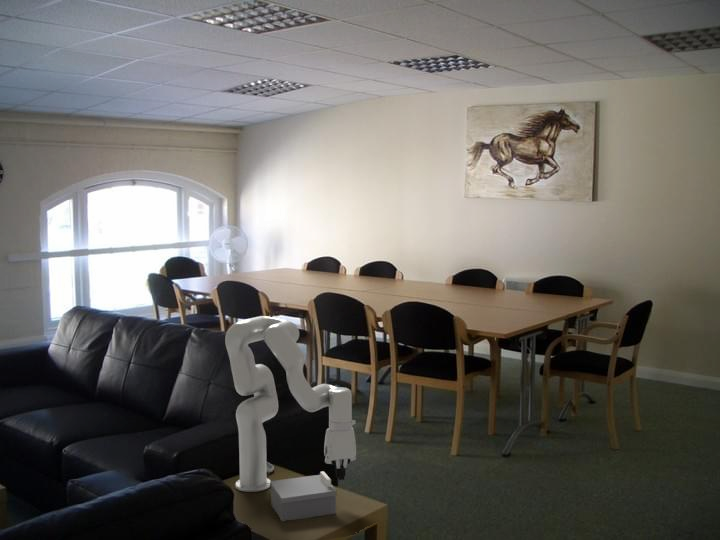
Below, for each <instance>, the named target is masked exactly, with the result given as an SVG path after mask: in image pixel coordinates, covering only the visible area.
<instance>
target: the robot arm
mask: <svg viewBox="0 0 720 540" xmlns="http://www.w3.org/2000/svg"><path fill="white" fill-rule="evenodd" d="M299 337H300V331H299V327H298V326H297V325H296V324H295V323H294V322H292V321H289V320H286V319H282V318H276V317H271V316H265V315H259V316H255V317H251V318H250V317H249V318H246V319H242V320H239V321H236V322H235V323H233V324H232V325H230V326H229V328H228V329H227V331H226V333H225V338H224V339H225V341H224V342H225V344H224V345H225V348H226V351H227V355H228V358H229V361H230V362H229V363H230V370H231V374H232V378H233V379H232V380H233V383H234V385H233V386H234V388H235V391H236V392H237V393H238V395H240V396H244V397H245V396H250V395H253V396H252V397H249V398H247V399H245V400H243V401H242V402H241V403H240V404H239V405H237V408H236V410H235V419H236V424H237V429H238V430H237V431H238V448H239V449H238V451H239V455H238V456H239V460H238V461H239V462H238V463H239V479H238V480H237V481H235V488H236V489H237V490H238V491H241V492H245V493H256V492H261V491H262V492H263V491H266V490H268V489H269V488H271V486H270V481H271V479H270V478H268V477H267V475H268V474H267V466H266V462H267V436H266V431H265V429H264V425H263V423H264V422H267V421H269V420H271V419H272V418H274V417H275V416H276V415H277V413H278V412H279V400H278V393H277V390H276V383H275V378H274V375H273V373H272V371H271V369H270V368H269V367H268V366H267V365H264V364H263V363H258V364H256V361H255V356H254V353H253V351H252V349H251V347H249V344H251V343H255V342H259V341H263V340H264V342H265V343H266V345H267V347H268V348H269V349H270V351H271V353H272V354H273V355H274V356H275V358H276V359H277V361H278V362H279V364H281V366H282V368H283V369H284V371H285V372H286V374H285V375H286V382H287V385H288V389H289V391H290V393H291V395H292V397H293V398H294V399H295V400H296V402H297V403H298V405H300V407H301V408H302V409H303V410H305V412H306V411H307V412H309V413H315V412H317V411H319V410H322V409H323V408H326V407H328V428H326V430H325V436H324V444H323V445H324V446H323V448H324V449H323V453H324V454H323V456H324V457H325V458H324V462H325V464H328V465H329V464H330V465H333V466H334V467H335V477H336V478H337V479H338V481H343V480H344V481H345V477H346V474H347V473H346V468H347V467H348V466H349V464H350V463H351V462H353V461H355V460H357V456H356V455H357V444H356V434H355V429H354V427H353V425H356V420H355V419H354V420H353V417H352V415H353V413H352V411H353V409H352V408H353V407H352V406H353V404H352V401H353V400H352V399H353V398H352V397H353V395H352V391H351V389H349V388H348V387H343V386H342V387H340V386H339V387H337V386H334V385H332V384H329V383H321V384H318V385H316V386H314V387H312V386H311V385H310V383H309V382H308V381H307V379H306V377H305V375H304V374H305V373H304V365H305V362H306V361H307V356H306V354H305V352H304V351H303V350H302V348H301V347H300V345H299V344H298V343H297V341H298V340H299ZM340 461H341V462H340Z"/></svg>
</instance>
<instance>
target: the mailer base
mask: <svg viewBox="0 0 720 540" xmlns="http://www.w3.org/2000/svg"><path fill="white" fill-rule="evenodd" d="M270 490H271V493H270V496H271V499H270V501H271V502H270V503H271V506H272V508H273V510H274V509H275V510H274V511H275V513H276V512H277V513H276V515H277V514H278V515H279V516H278V515H277V516H278V518H279V517H280V518H279V519H280V521H281V520H282V521H281V522H287V521H286V520H289V521H294V520H300V519H301V520H302V519H307V518H314V517H321V516H327V515H328V516H329V515H333V514H334V515H335V514H336V513H337V512H336V511H337V508H336V507H337V505H336V504H337V503H336V502H337V501H336V500H337V498H336V496H337V495H336V496H329V497H322V498H316V499H309V500H302V501H295V502H288V503H281V499H280V497H279V496H278V494H277V493H276V491H275V490H274V488H273V487H272V485H271V486H270Z"/></svg>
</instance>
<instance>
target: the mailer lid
mask: <svg viewBox="0 0 720 540" xmlns="http://www.w3.org/2000/svg"><path fill="white" fill-rule="evenodd" d="M271 485H272V487H273V488H274V490H275V491H276V493H277V494H278V496H279V497H280V499H281V503H288V502H295V501H302V500H309V499H316V498H322V497H329V496H338V490H337V489H336V488H335V486H333V484H332V478H330V477H329V476H328V474H327V473H326V472H325V471H324V470H323V471H320V472H319V474H317V475H315V474H314V475H307V476H301V477H291V478H286V479H285V478H284V479H276V480H270V487H271Z"/></svg>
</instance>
